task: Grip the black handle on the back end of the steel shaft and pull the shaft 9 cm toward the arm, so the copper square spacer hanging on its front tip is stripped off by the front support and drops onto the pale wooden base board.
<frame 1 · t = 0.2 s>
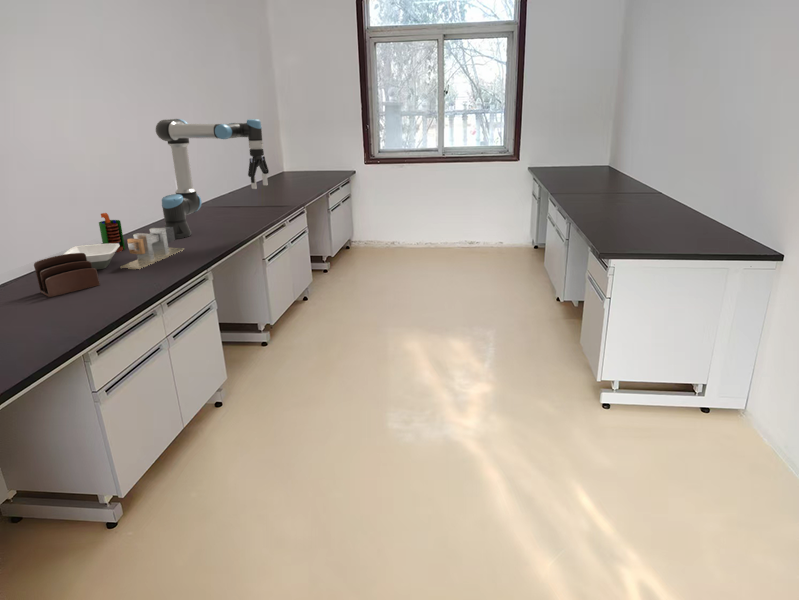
hand: (260, 186, 307), 28 cm above the table, tool pointing down, fingers open, 13 cm apart
shaft: (151, 240, 266), point 10 cm above the table, slide at 0.0 cm, touching spacer
letter holder: (71, 289, 227), on the table
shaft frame: (149, 260, 266), on the table
bowl: (95, 267, 257), on the table
spacer: (137, 253, 257), point 6 cm above the table, touching shaft
motor: (114, 251, 284), on the table
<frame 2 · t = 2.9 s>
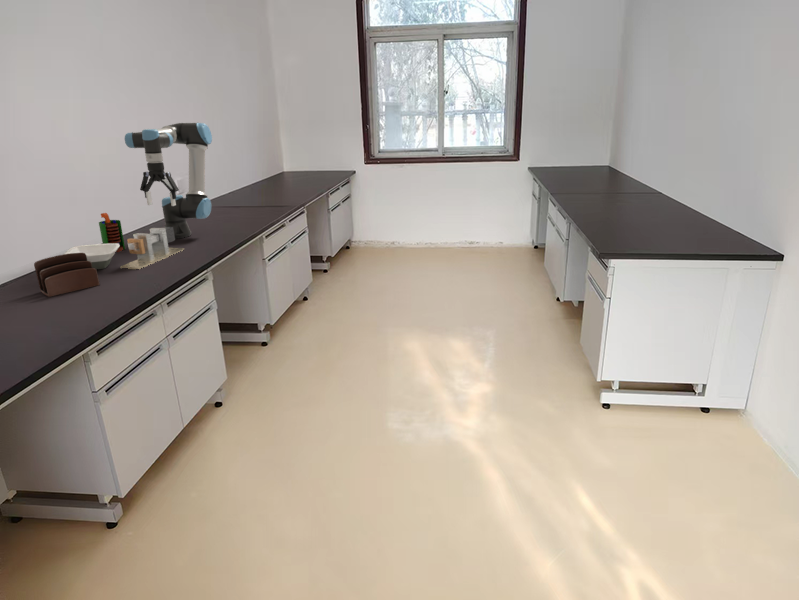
hand: (161, 205, 272), 25 cm above the table, tool pointing down, fingers open, 13 cm apart
nothing on the table moved.
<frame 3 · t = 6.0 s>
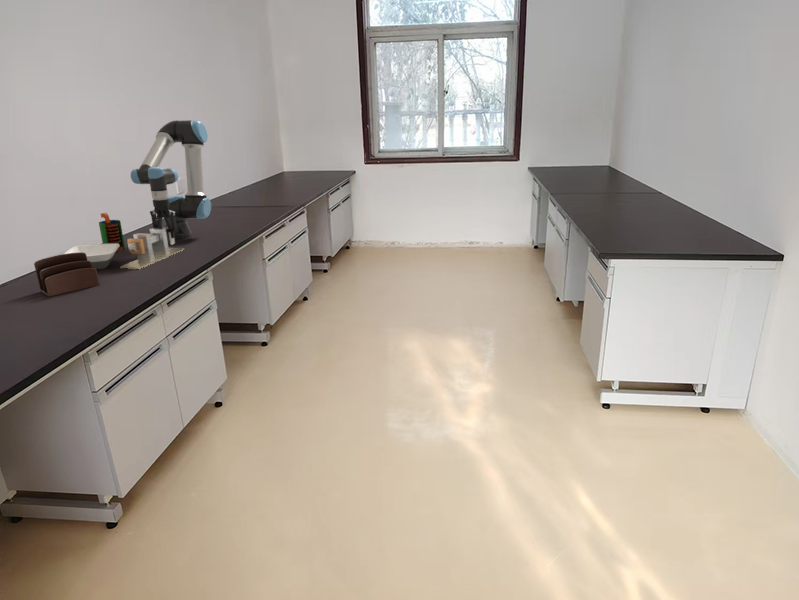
hand: (167, 243, 279), 5 cm above the table, tool pointing down, fingers closed on shaft, 5 cm apart
shaft: (151, 240, 266), point 10 cm above the table, slide at 0.0 cm, touching gripper, spacer
everything else where it was.
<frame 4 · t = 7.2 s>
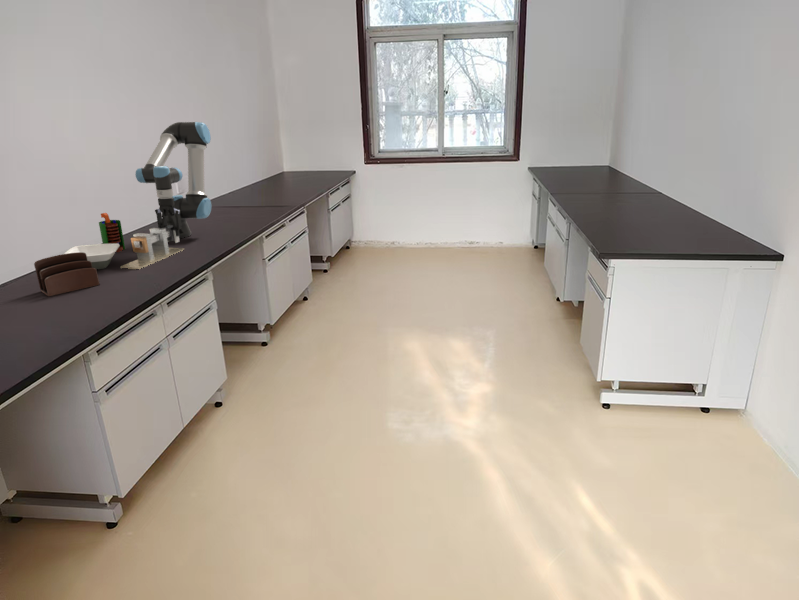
hand: (172, 241, 283), 5 cm above the table, tool pointing down, fingers closed on shaft, 5 cm apart
shaft: (156, 238, 270), point 10 cm above the table, slide at 4.1 cm, touching gripper, spacer
spacer: (141, 252, 260), point 6 cm above the table, touching shaft
everything else where it was.
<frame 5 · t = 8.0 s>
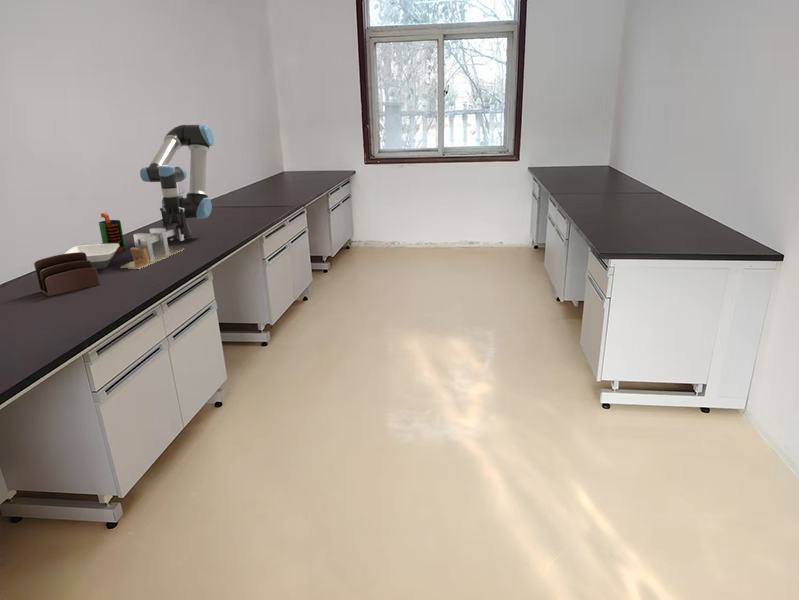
hand: (177, 239, 286), 5 cm above the table, tool pointing down, fingers closed on shaft, 5 cm apart
shaft: (161, 236, 274), point 10 cm above the table, slide at 8.2 cm, touching gripper
spacer: (142, 261, 261), point 1 cm above the table, tilted 13°, touching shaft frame
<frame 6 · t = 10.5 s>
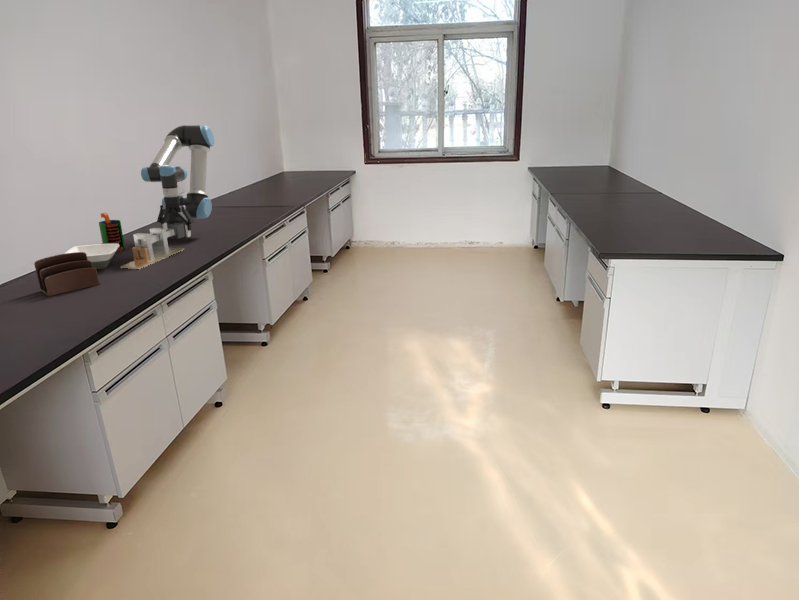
hand: (177, 236, 286), 7 cm above the table, tool pointing down, fingers open, 13 cm apart
shaft: (162, 236, 275), point 10 cm above the table, slide at 8.9 cm
spacer: (142, 261, 261), point 1 cm above the table, touching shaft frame
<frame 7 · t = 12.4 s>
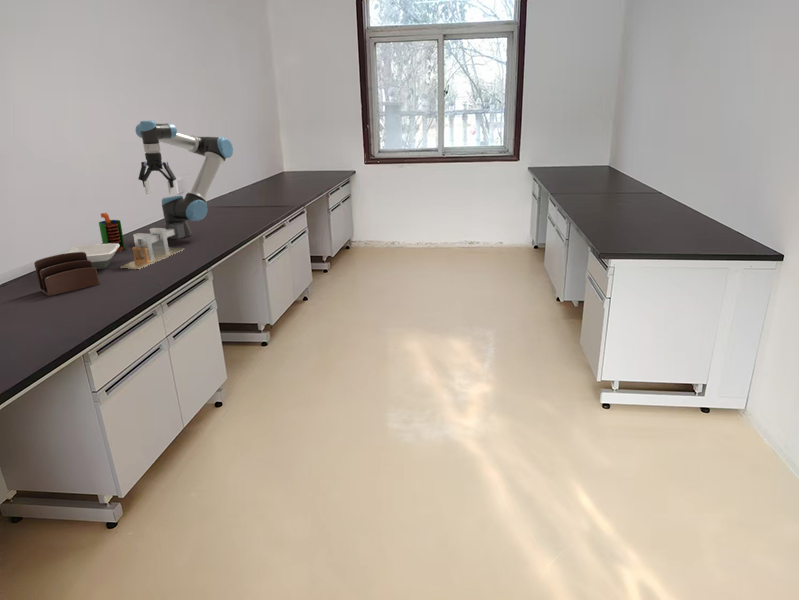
hand: (159, 193, 284), 28 cm above the table, tool pointing down, fingers open, 13 cm apart
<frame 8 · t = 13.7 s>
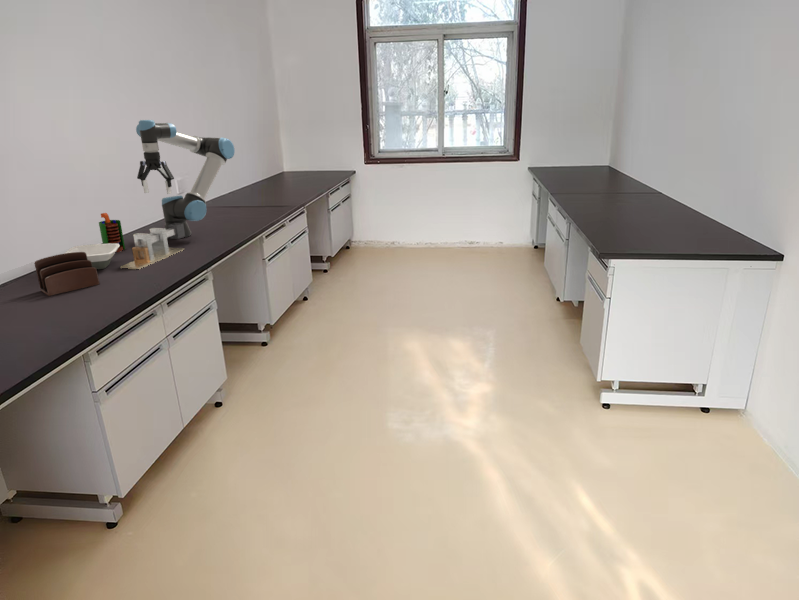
hand: (158, 193, 284), 29 cm above the table, tool pointing down, fingers open, 13 cm apart
at the end: shaft slide at 8.9 cm; spacer inside the target area (2.5 cm from its centre), point 1.0 cm above the table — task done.
